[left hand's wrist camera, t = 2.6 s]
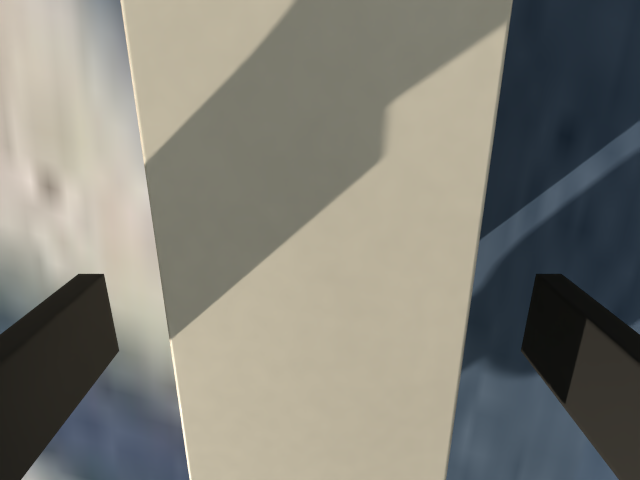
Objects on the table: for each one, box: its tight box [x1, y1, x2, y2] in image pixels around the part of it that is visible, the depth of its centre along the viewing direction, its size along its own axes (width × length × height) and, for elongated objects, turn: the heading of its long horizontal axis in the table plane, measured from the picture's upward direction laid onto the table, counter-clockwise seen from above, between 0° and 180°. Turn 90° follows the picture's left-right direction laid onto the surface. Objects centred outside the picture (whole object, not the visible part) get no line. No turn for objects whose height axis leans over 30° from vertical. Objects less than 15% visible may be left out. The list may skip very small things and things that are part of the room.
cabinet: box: [121, 0, 513, 480], centre depth 13 cm, size 16×6×11 cm, turn 0°
